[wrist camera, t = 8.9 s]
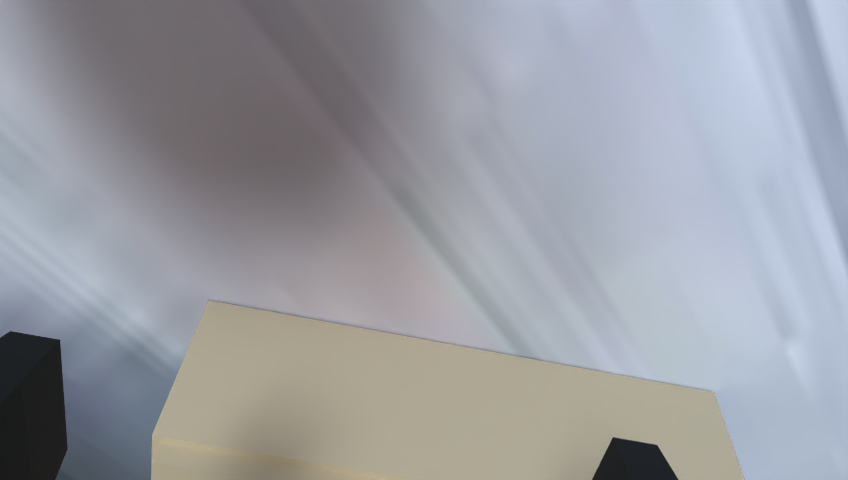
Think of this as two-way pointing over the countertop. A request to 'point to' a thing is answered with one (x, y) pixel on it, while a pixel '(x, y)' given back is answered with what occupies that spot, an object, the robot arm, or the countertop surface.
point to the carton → (409, 409)
